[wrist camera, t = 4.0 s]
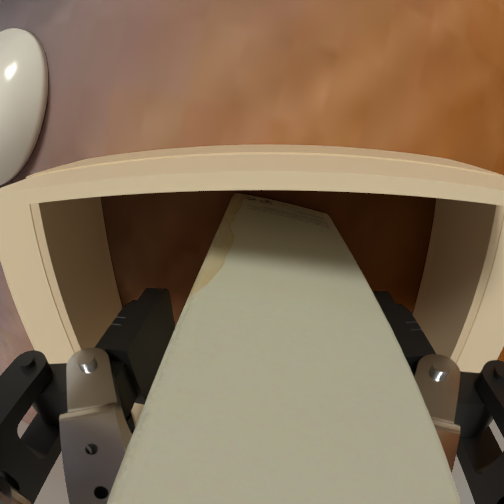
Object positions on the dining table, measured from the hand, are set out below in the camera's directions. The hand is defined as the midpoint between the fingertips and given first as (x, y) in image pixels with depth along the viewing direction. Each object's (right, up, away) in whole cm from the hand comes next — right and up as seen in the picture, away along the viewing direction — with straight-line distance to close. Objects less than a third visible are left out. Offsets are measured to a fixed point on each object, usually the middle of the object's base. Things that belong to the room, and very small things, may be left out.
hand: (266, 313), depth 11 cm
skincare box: (0, +2, +4) cm, 4 cm away
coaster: (-16, +11, +1) cm, 19 cm away
